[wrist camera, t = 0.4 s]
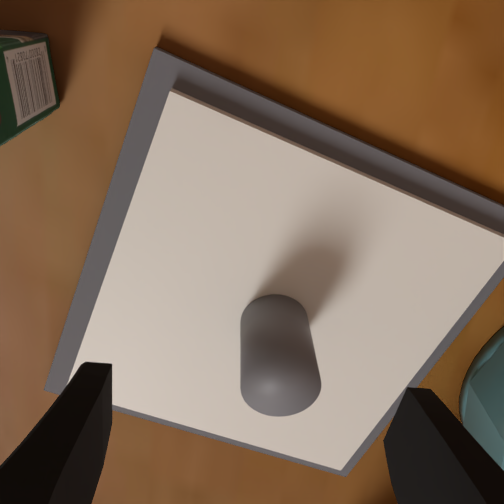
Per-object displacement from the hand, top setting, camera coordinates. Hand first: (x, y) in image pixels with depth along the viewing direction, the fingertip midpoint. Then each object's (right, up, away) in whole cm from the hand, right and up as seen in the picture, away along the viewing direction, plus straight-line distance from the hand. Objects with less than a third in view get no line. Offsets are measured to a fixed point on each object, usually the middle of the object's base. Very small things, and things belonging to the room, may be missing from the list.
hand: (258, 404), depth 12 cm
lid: (+1, +1, +10) cm, 10 cm away
